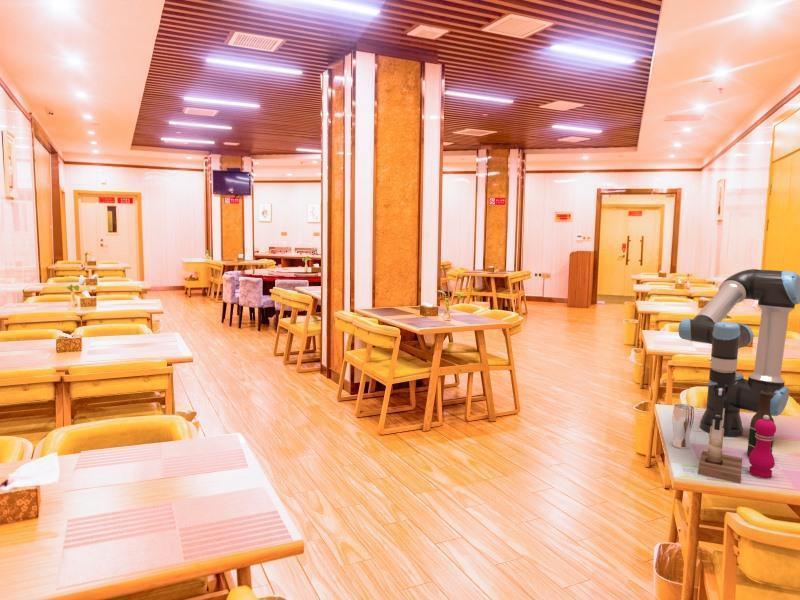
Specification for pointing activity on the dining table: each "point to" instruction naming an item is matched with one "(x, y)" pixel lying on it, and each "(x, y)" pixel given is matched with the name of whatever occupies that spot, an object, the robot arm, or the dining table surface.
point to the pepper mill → (763, 449)
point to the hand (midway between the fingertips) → (717, 432)
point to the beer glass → (682, 425)
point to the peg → (715, 449)
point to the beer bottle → (762, 410)
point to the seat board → (721, 467)
